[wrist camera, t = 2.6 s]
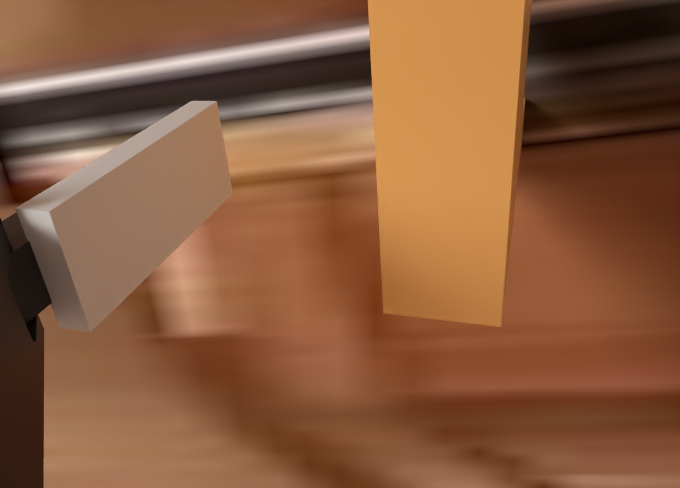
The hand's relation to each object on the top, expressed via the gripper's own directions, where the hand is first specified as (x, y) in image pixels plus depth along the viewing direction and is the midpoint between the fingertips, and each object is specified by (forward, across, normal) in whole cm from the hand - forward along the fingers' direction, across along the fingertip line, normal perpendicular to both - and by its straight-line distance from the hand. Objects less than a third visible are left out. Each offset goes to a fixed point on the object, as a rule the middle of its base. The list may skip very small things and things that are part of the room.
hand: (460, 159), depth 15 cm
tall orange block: (+10, 0, 0) cm, 10 cm away
